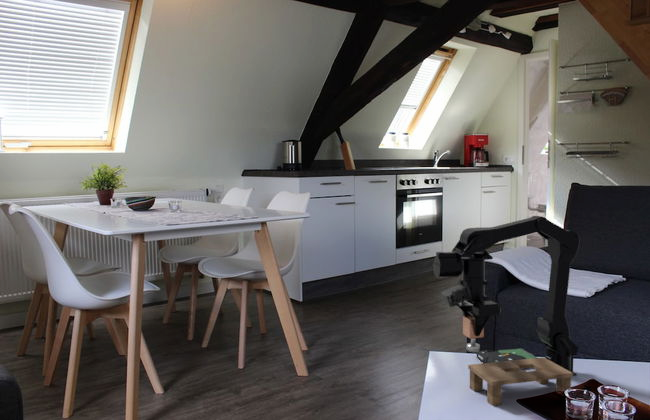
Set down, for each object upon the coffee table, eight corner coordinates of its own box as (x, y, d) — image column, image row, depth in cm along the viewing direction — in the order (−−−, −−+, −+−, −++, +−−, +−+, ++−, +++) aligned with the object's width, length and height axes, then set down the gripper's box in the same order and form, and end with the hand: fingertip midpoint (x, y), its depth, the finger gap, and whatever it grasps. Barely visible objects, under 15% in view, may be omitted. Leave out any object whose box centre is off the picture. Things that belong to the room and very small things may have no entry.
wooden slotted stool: (543, 379, 156) (543, 357, 156) (572, 396, 145) (572, 373, 144) (468, 387, 151) (468, 364, 151) (491, 406, 140) (492, 381, 139)
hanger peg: (476, 347, 160) (476, 314, 159) (483, 351, 156) (483, 318, 155) (462, 348, 159) (462, 315, 158) (469, 353, 155) (469, 319, 154)
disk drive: (491, 372, 164) (540, 368, 166) (491, 363, 163) (540, 358, 166) (475, 360, 174) (522, 356, 176) (475, 351, 173) (522, 347, 176)
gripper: (431, 271, 163) (431, 326, 164) (461, 285, 145) (461, 347, 146) (467, 269, 165) (467, 323, 166) (502, 282, 147) (501, 343, 148)
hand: (473, 333), depth 157 cm, fingers closed on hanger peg, 4 cm apart
